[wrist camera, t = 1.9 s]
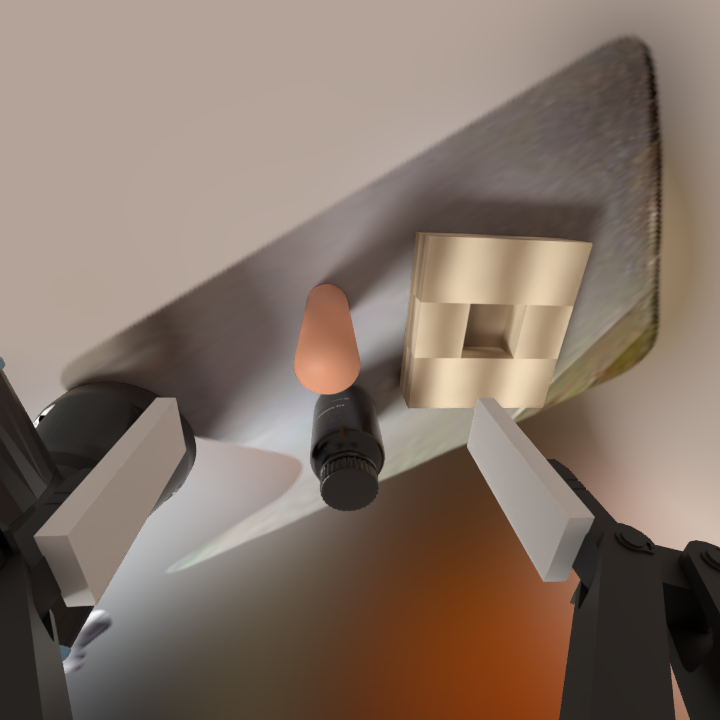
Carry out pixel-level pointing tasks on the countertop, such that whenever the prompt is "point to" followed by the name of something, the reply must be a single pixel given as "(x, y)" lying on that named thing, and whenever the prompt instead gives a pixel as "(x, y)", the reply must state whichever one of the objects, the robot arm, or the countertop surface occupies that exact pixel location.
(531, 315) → the bore block
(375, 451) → the supplement bottle
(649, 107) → the countertop surface
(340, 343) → the terracotta dowel
